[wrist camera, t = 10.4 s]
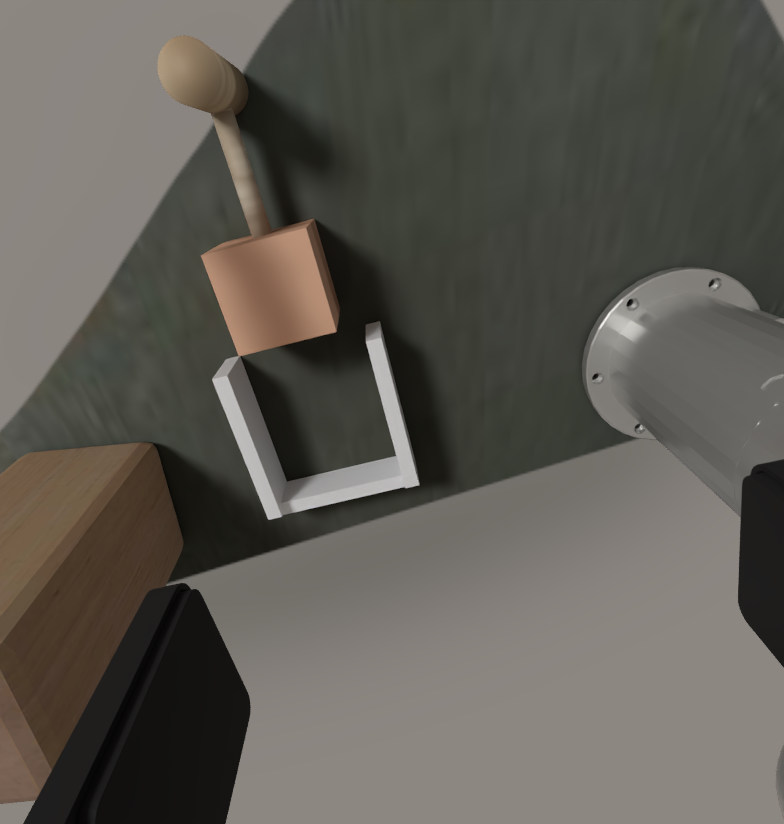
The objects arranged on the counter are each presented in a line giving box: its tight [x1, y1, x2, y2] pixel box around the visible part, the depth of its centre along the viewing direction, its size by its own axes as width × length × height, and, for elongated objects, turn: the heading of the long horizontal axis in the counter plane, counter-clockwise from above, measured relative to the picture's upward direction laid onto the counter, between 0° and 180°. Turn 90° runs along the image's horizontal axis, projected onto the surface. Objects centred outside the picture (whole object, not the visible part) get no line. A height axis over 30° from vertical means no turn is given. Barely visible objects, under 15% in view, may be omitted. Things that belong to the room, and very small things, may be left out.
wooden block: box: [0, 442, 184, 804], centre depth 34 cm, size 10×10×20 cm
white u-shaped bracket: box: [212, 321, 419, 520], centre depth 39 cm, size 11×12×4 cm
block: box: [158, 36, 340, 356], centre depth 31 cm, size 6×15×7 cm, turn 14°
